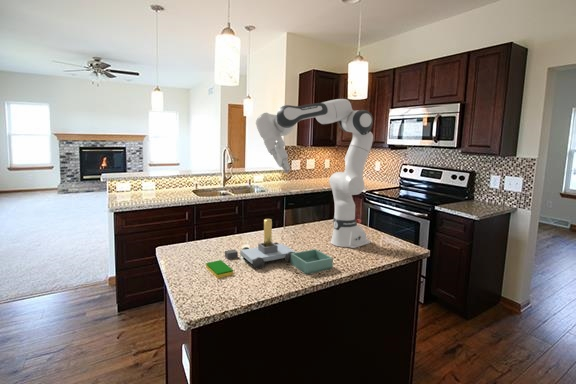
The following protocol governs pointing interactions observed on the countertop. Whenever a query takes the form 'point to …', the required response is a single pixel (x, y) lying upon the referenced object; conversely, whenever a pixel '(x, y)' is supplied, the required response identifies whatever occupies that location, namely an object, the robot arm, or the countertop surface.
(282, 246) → the trolley
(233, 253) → the wheel chock
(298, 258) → the tray
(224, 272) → the dish sponge
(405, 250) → the countertop surface
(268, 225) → the pin
